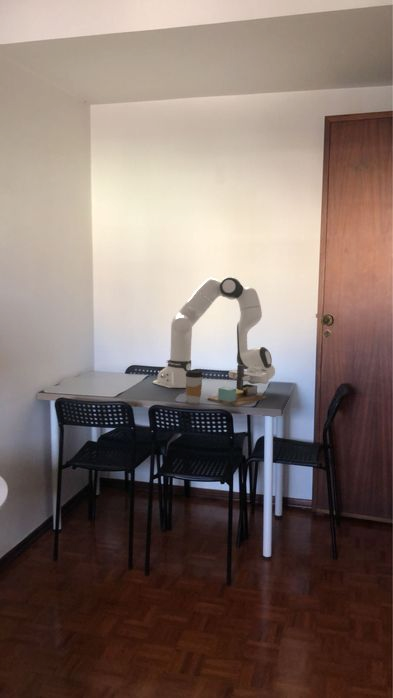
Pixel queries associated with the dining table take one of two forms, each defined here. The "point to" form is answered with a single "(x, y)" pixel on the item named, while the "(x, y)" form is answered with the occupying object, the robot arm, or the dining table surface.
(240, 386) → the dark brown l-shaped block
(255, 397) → the board
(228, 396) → the mint green block
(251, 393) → the sleeve
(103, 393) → the dining table surface
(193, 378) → the coffee cup
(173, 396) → the dining table surface
